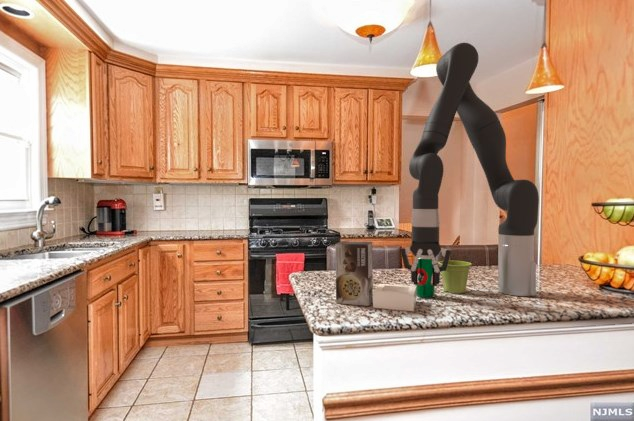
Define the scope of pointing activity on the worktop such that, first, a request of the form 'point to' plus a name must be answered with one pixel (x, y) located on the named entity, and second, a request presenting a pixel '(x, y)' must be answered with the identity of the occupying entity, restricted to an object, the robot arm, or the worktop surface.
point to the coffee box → (354, 273)
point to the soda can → (425, 277)
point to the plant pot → (455, 276)
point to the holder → (395, 297)
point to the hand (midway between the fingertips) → (425, 284)
